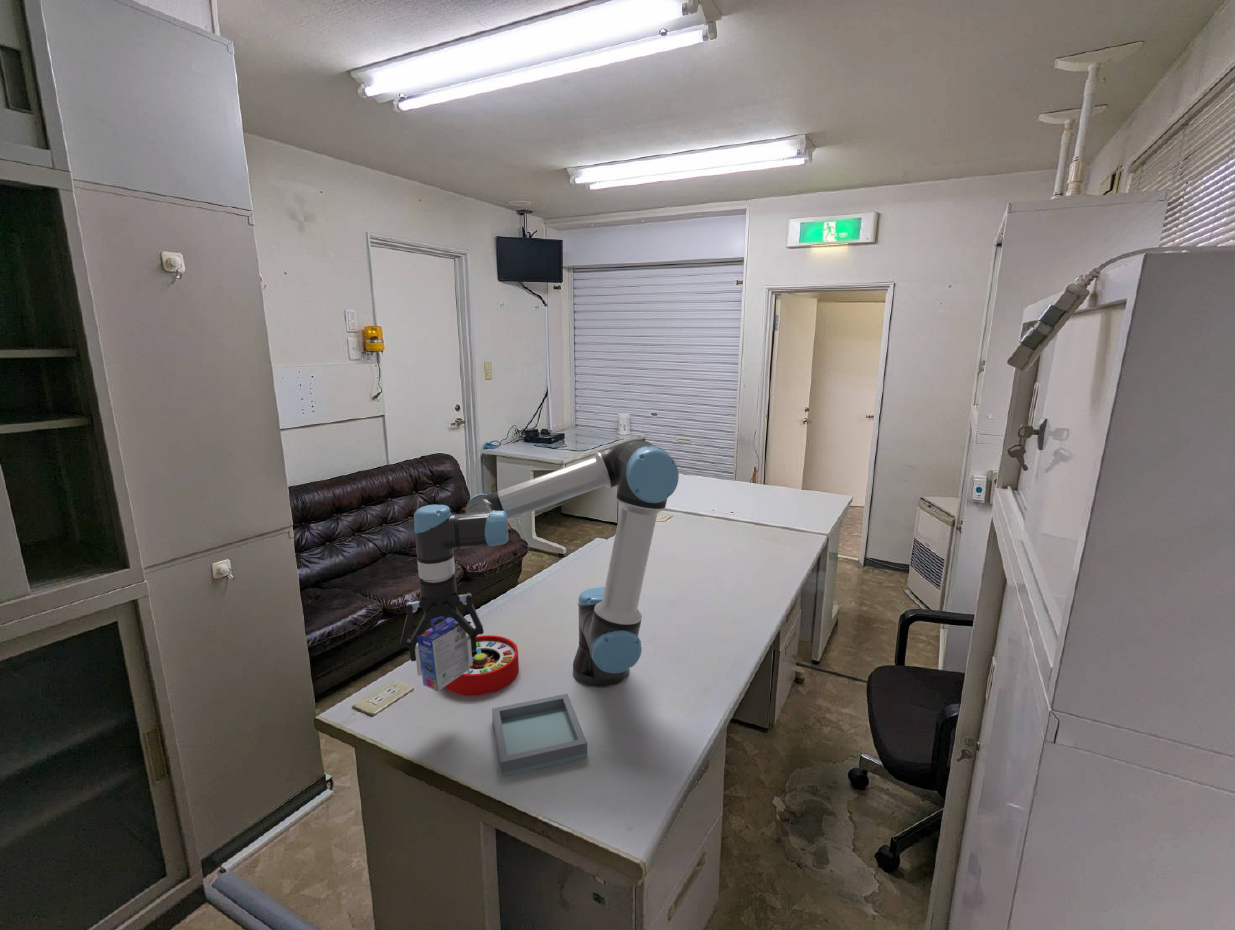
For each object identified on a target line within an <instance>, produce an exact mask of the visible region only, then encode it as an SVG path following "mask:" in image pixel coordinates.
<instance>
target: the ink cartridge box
mask: <svg viewBox="0 0 1235 930" xmlns="http://www.w3.org/2000/svg"><path fill="white" fill-rule="evenodd" d="M438 620H442V621H440V622H438V623H437V624H435V623H436V621H438ZM429 623H430V625H431V627H430V628H429V629H425V630H424V631H423V633H422V635H418V636H417V640H418V642H417V643H418V648H419V655H420V663H421V677H422V684H423V686H424V687H426V688H429V689H431V690H433V691H435V692H439V691H441V690H442V689H443V688H446V687H445V686H446V685H448V684H449V683H451V682H452V681H453V680H455V679H456V678H458V677H459V676H461V675H462V674H464V673H465V672H466V671H468V670H469V669H470V668H469V659H468V647H467V633H466V632H465V631H464V629H463V628H462V627H461V626H460V625H459V624H458V622H457V621H456V620H455V619H454V618H452V616H450V617H447V618H445V617H444V616H440V617H438V618H433V617H432V618H431V619H430V621H429Z"/></svg>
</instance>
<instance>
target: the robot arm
mask: <svg viewBox="0 0 1235 930" xmlns="http://www.w3.org/2000/svg"><path fill="white" fill-rule="evenodd" d="M679 474H680V473H679V468H678V466H677V463H676V461H675V460H674V459H673V457H672V456H671V455H670V454H669V453H668V452H667V451H666V450H664V449H663V448H661V447H658V446H656V445H654V444H652V443H650V442H649V441H646V440H642V439H631V440H627V441H623V442H621V443H618V444H615V445H613V446H610V447H608V448H605V449H602V450H599V451H597V452H596V453H595V455H594V457H591V458H589V459H586V460H583V461H580V462H577V463H574V464H572V465H568V466H566V467H562V468H560V469H557V470H554V471H552V472H549V473H546V474H543V475H540V476H538V477H534V478H531V479H529V480H525V481H523V482H521V483H517V484H514V485H512V486H509V487H506V488H504V489H500V490H498V491H495V492H491V493H489V494H487V493H478V494H475V495H473V496H472V497H471V498H470V499H469V500H468V502H467V504H466V506H465V510H464V512H465V513H457V514H455V513H452V511H451V508H450V507H449V506H448V505H446V504H428V505H424V506H421V507H419V508H417V509H416V510H415V512H414V514H413V522H414V523H413V524H414V525H413V526H414V529H413V533H414V538H415V539H414V540H415V547H416V549H415V550H416V556H417V571H418V577H419V581H418V582H419V589H420V590H419V591H420V593H419V594H420V599H419V600H417V601H412V600H407V601H406V607H405V609H406V617H405V621H404V625H403V629H402V633H401V637H400V642H399V643H400V645H399V647H400V648H401V649H402V648H403V649H404V648H408V649H409V657H410V661H411V662H416V672H417V677H420V676H422V671H421V663H420V655H419V648H418V640H417V636H418V635H422V633H423V632H425V630H426V627H427V626H428V624H429V623H430V620H431V619H433V618H438V617H440V616H444V618H445V617H448V616H449V615H450V617H452V618H454V619H455V620H456V621H457V622H458V624H459V625H460V626H461V627H462V628H463V629H464V631H465V632H466V637H467V647H468V659H469V666H473V663H472V651H473V650H476V648H477V647H476V636H482V635H483V634H484V631H485V630H484V627H483V626H484V625H483V624H482V622H481V620H480V617H479V615H478V613H477V610H476V608H475V606H474V603H473V597H472V593H471V592H470V591H467V592H466V593H464V594H459V593H458V591H457V590H458V589H457V579H456V574H455V572H456V569H455V568H456V564H455V555H454V550H456V549H457V550H460V549H471V548H482V547H495V546H501V545H505V544H507V543H508V541H509V526H508V525H509V524H508V522H509V520H512V519H515V518H518V517H521V516H523V515H526V514H529V513H532V512H535V511H538V510H540V509H543V508H546V507H549V506H552V505H554V504H557V503H560V502H563V501H566V500H568V499H571V498H573V497H574V498H575V497H577V496H580V495H583V494H585V493H588V492H591V491H595V490H596V489H597V490H598V489H600V488H603V487H606V488H607V489H612V488H614V487H617V486H618V488H617V493H616V497H615V499H616V500H617V502H618V503H619V505H620V509H619V510H620V511H619V516H618V520H617V525H616V531H615V535H614V541H613V545H612V550H611V556H610V559H609V564H608V565H609V566H608V570H607V576H606V580H605V586H604V587H602V586H601V587H593V588H588V589H586V590H584V591H582V592H581V593H580V594H579V595H578V602H577V606H578V647H577V651H576V653H575V656H574V658H573V663H572V674H573V677H574V678H575V679H576V681H578V682H579V683H581V684H582V685H585V686H588V687H593V688H594V687H596V688H605V687H611V686H615V685H617V684H619V683H621V682H623V681H625V679H627V677H628V675H629V672H630V670H629V669H630V668H633V667H634V666H635V665H636V664H637V663H638V661H639V660H640V657H642V650H643V649H642V642H641V639H640V637H639V634H640V628H641V625H642V624H641V623H642V620H643V615H642V613H641V611H640V610H639V609H638V607H639V601H640V597H641V592H642V588H643V585H644V584H643V583H644V579H645V573H646V569H647V564H648V559H649V555H650V550H651V545H652V540H653V535H654V531H655V527H656V521H657V518H658V517H657V516H658V514H659V513H660V512H663V511H664V510H665V509H666V505H667V502H668V498H669V497H670V496H672V495H673V493H674V492H675V491H676V489H677V486H678V484H679V477H680V475H679ZM459 602H462V605H465V606H466V608H467V611H468V613H469V615H470V619H471V620H472V622H473V624H474V627H473V626H472V624H470V622H468V620H467V619H466V618H465V617H464V615H463V614H462V613H461V612H460V611H459V609H458V607H457V605H458V604H459ZM418 608H421V609H422V610H423V612H424V613H423V614H422V617H421V619H420V621H419V623H418V625H417V626H416V629H415V630H414V631H413V634H412V636H411V637H410V638H409V634H410V630H411V626H412V623H413V618H414V613H416V612H417V611H418Z"/></svg>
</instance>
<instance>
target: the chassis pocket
mask: <svg viewBox="0 0 1235 930" xmlns="http://www.w3.org/2000/svg"><path fill="white" fill-rule="evenodd" d="M491 709H492V710H491V716H492V726H493V733H494V737H495V744H496V751H497V756H498V763H499V770H500V775H501V778H505V777H508V776H512V775H517V774H522V773H526V772H530V771H534V770H535V771H536V770H538V769H544V768H548V767H551V766H555V765H560V764H564V763H568V762H569V763H570V762H572V761H577V760H581V759H587V758H588V741H587V739H586V736H585V733H584V732H583V729H582V726H581V724H580V721H579V719H578V717H577V713H576V711H575V709H574V706H573V704H572V701H571V699H570V696H569V693H563V694H558V695H554V696H548V697H544V698H537V699H533V700H529V701H523V702H517V703H514V704H507V705H502V706H497V707H492V708H491Z"/></svg>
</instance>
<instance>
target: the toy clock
mask: <svg viewBox="0 0 1235 930" xmlns="http://www.w3.org/2000/svg"><path fill="white" fill-rule="evenodd" d="M476 647H477V648H476V650H473V651H472V663H473V666H469V668H470V669H469V670H468V671H466V672H465V673H464V674H462V675H461V676H459V677H458V678H456V679H455V680H453V681H452V682H451V683H449V684H448V685H446V686H445V687H444V688H445V689H447V690H448V691H449V692H451V693H454V694H456V695H460V696H470V697H475V696H485V695H489V694H492V693H496V692H498V691H501V690H502V689H504V688H506V687H507V686H509V685H510V684H512V682H513V681H515V679H516V678H517V677H518V674H519V669H520V667H519V666H520V665H519V648H518V646H517V644H516V643H515V642H514V641H513V640H511V639H510V638H507V637H504V636H501V635H493V634H492V635H491V634H490V635H489V634H485V635H483V634H482V635H477V636H476Z"/></svg>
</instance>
